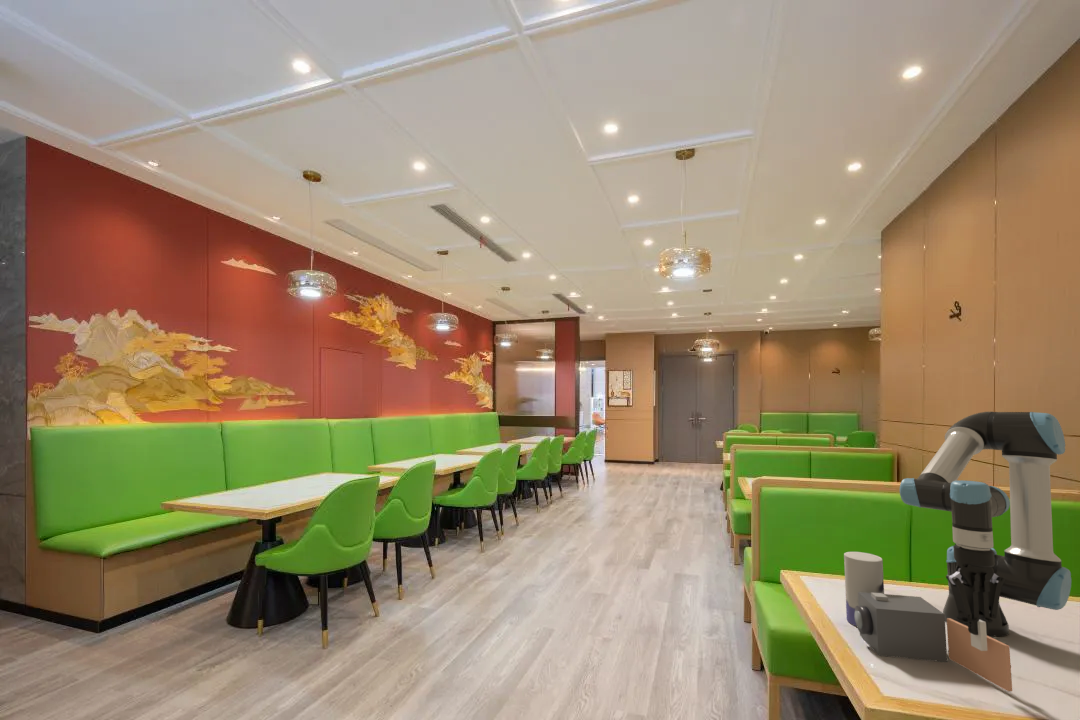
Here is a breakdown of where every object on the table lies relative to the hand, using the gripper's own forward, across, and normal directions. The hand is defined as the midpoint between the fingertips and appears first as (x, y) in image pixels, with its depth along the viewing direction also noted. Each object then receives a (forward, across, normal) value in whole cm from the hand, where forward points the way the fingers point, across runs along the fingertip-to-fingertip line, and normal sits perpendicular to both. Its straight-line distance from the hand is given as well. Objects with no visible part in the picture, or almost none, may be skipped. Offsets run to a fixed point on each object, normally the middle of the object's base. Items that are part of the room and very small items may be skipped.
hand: (979, 647), depth 120 cm
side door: (+8, +3, +3) cm, 9 cm away
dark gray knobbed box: (+9, -6, +19) cm, 22 cm away
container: (+9, -4, +34) cm, 35 cm away
